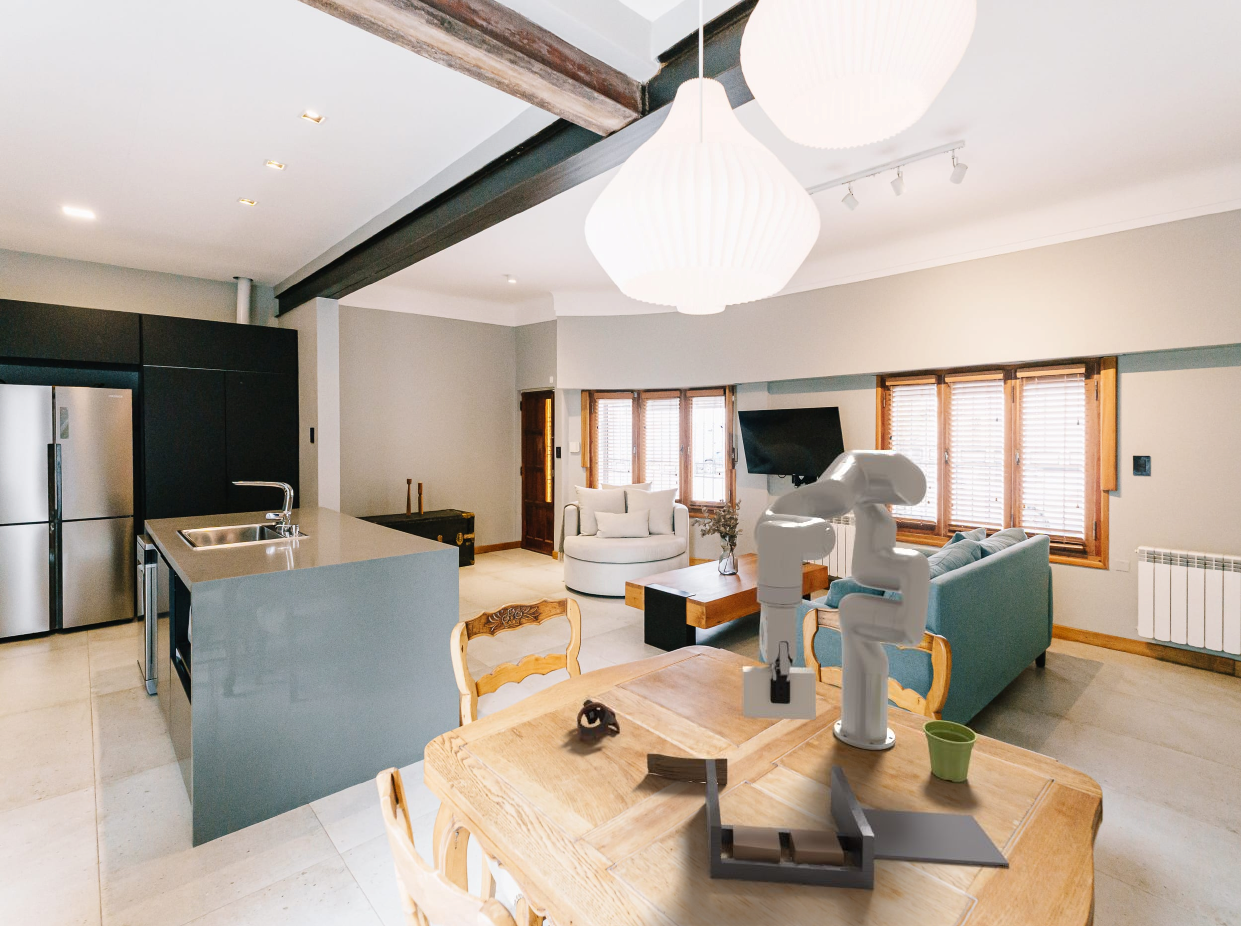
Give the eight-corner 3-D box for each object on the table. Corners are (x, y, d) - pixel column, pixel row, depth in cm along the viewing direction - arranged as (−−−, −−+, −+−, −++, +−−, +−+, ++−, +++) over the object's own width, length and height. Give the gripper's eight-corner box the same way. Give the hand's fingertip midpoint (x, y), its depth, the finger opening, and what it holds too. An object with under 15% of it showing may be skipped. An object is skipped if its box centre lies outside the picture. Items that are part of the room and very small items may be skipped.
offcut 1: (732, 848, 98) (733, 824, 97) (777, 853, 96) (777, 828, 96) (733, 870, 93) (733, 844, 92) (780, 875, 92) (780, 849, 91)
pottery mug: (630, 739, 134) (620, 715, 130) (594, 766, 131) (583, 742, 127) (604, 705, 144) (594, 682, 140) (571, 730, 140) (559, 706, 137)
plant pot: (911, 766, 121) (911, 724, 121) (946, 758, 125) (946, 716, 124) (951, 792, 113) (952, 746, 112) (987, 782, 116) (988, 737, 116)
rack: (705, 802, 110) (705, 759, 109) (839, 810, 107) (840, 765, 107) (710, 877, 91) (710, 825, 90) (873, 889, 88) (874, 836, 88)
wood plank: (727, 781, 117) (727, 755, 116) (727, 787, 114) (727, 761, 114) (648, 773, 119) (648, 749, 119) (646, 779, 117) (646, 754, 117)
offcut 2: (789, 853, 96) (789, 829, 96) (834, 856, 96) (834, 831, 96) (795, 876, 91) (795, 850, 91) (843, 879, 91) (843, 853, 91)
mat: (852, 810, 107) (852, 808, 107) (971, 817, 105) (971, 815, 105) (874, 857, 95) (874, 854, 95) (1008, 866, 93) (1008, 863, 93)
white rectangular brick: (742, 711, 107) (742, 666, 106) (812, 713, 105) (812, 667, 105) (744, 717, 104) (743, 671, 104) (815, 719, 103) (815, 673, 102)
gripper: (752, 581, 112) (751, 679, 113) (763, 605, 96) (762, 719, 97) (793, 582, 111) (792, 681, 112) (811, 607, 95) (810, 721, 96)
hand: (778, 697), depth 105 cm, fingers closed on white rectangular brick, 2 cm apart
